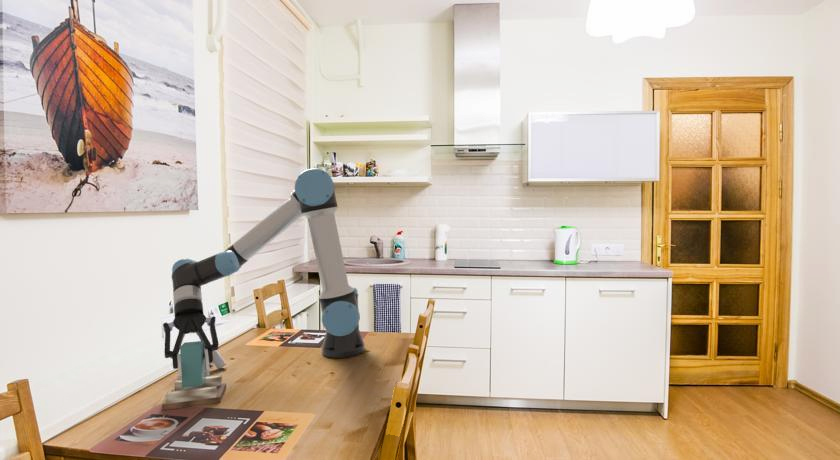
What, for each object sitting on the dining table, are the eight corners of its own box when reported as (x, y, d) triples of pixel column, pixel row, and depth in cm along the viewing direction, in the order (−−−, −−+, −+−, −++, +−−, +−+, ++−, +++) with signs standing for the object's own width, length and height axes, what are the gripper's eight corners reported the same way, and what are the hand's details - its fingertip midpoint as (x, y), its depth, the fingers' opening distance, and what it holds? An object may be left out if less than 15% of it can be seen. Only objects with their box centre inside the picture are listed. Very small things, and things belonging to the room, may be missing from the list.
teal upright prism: (205, 379, 124) (203, 340, 124) (202, 385, 120) (200, 345, 119) (186, 381, 123) (184, 342, 122) (182, 387, 118) (180, 347, 118)
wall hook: (218, 371, 140) (210, 341, 140) (191, 378, 142) (183, 348, 142) (234, 363, 148) (226, 334, 148) (208, 369, 150) (200, 340, 150)
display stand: (226, 388, 128) (225, 374, 128) (220, 402, 118) (219, 387, 118) (172, 394, 124) (171, 381, 124) (162, 410, 115) (161, 395, 115)
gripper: (222, 307, 139) (231, 374, 125) (151, 316, 129) (153, 390, 116) (223, 293, 134) (233, 361, 120) (150, 301, 124) (152, 376, 111)
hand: (194, 375), depth 118 cm, fingers closed on teal upright prism, 6 cm apart
